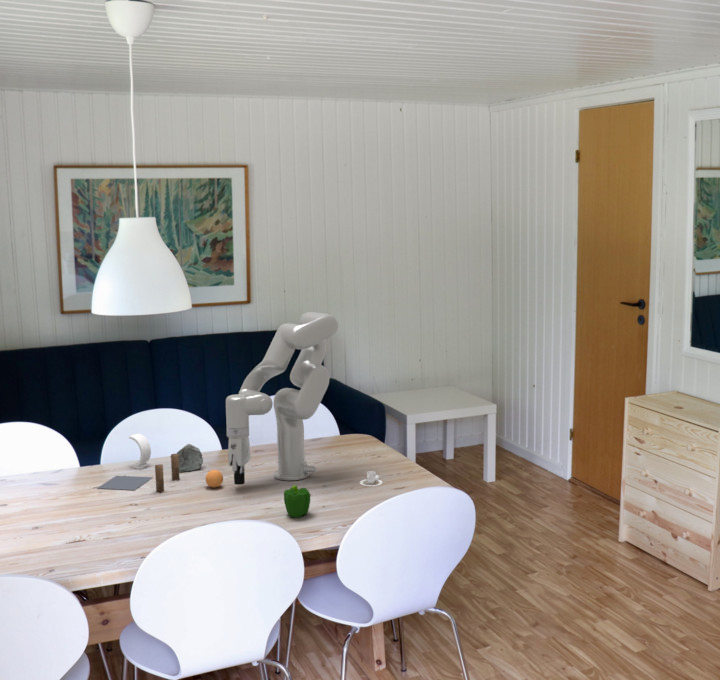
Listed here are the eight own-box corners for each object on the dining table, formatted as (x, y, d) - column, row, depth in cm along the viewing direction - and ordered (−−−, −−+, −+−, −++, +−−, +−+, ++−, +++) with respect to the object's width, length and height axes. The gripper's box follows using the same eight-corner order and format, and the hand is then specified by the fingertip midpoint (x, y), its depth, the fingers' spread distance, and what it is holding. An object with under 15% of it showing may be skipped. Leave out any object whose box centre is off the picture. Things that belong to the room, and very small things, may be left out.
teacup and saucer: (372, 478, 288) (372, 467, 287) (388, 483, 282) (388, 471, 281) (354, 484, 282) (354, 472, 281) (371, 489, 276) (370, 477, 275)
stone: (187, 445, 294) (193, 437, 305) (166, 463, 295) (172, 454, 306) (205, 465, 296) (211, 456, 306) (185, 482, 297) (191, 473, 307)
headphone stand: (139, 464, 308) (137, 433, 306) (151, 466, 305) (150, 435, 303) (130, 467, 304) (129, 436, 302) (143, 469, 301) (141, 438, 299)
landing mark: (152, 477, 291) (152, 477, 291) (134, 490, 277) (134, 489, 277) (116, 476, 294) (116, 475, 294) (97, 488, 280) (96, 488, 280)
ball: (226, 484, 282) (225, 468, 281) (220, 490, 276) (219, 473, 275) (209, 484, 283) (208, 467, 282) (203, 489, 277) (202, 472, 276)
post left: (165, 490, 277) (164, 464, 276) (162, 492, 275) (160, 466, 273) (158, 489, 278) (156, 464, 276) (155, 492, 275) (153, 466, 274)
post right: (180, 478, 290) (179, 453, 289) (177, 480, 287) (176, 455, 286) (173, 477, 290) (172, 453, 289) (170, 480, 288) (169, 455, 287)
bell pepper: (296, 508, 257) (295, 477, 256) (316, 513, 252) (315, 482, 251) (277, 515, 251) (276, 484, 250) (297, 521, 246) (296, 489, 244)
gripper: (241, 437, 267) (243, 491, 269) (255, 426, 282) (256, 477, 284) (219, 436, 268) (221, 490, 271) (234, 425, 283) (236, 476, 285)
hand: (239, 483), depth 277 cm, fingers closed
